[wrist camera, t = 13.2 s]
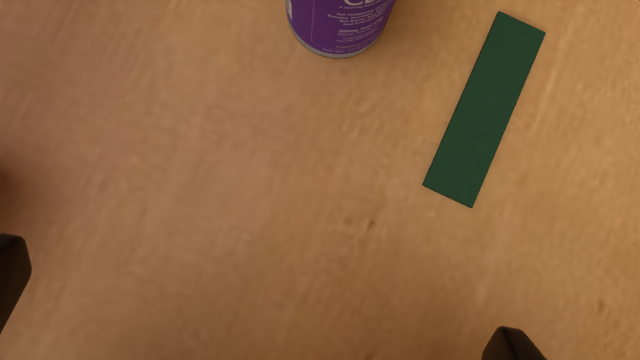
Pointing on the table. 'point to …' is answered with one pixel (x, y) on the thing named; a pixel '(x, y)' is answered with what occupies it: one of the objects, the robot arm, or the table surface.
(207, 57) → the table surface
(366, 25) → the container
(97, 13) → the table surface
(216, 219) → the table surface
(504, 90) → the pointer strip
